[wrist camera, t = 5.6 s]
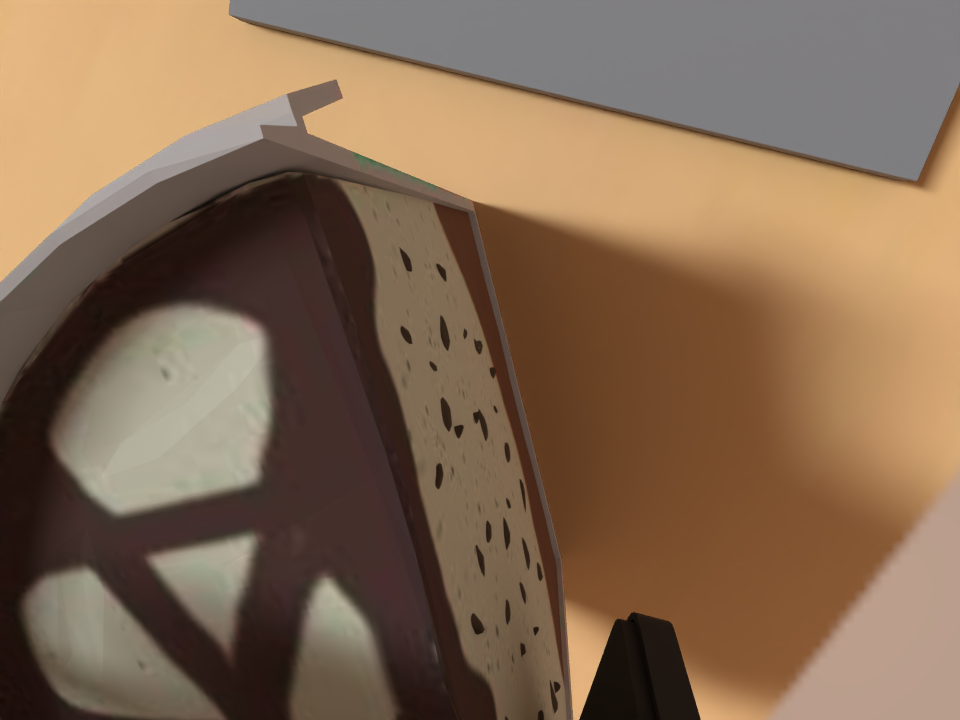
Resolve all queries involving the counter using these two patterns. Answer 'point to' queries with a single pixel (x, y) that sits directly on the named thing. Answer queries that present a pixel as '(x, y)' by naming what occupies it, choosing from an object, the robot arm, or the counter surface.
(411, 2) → the mat
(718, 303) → the counter surface
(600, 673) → the robot arm
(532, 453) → the food container
